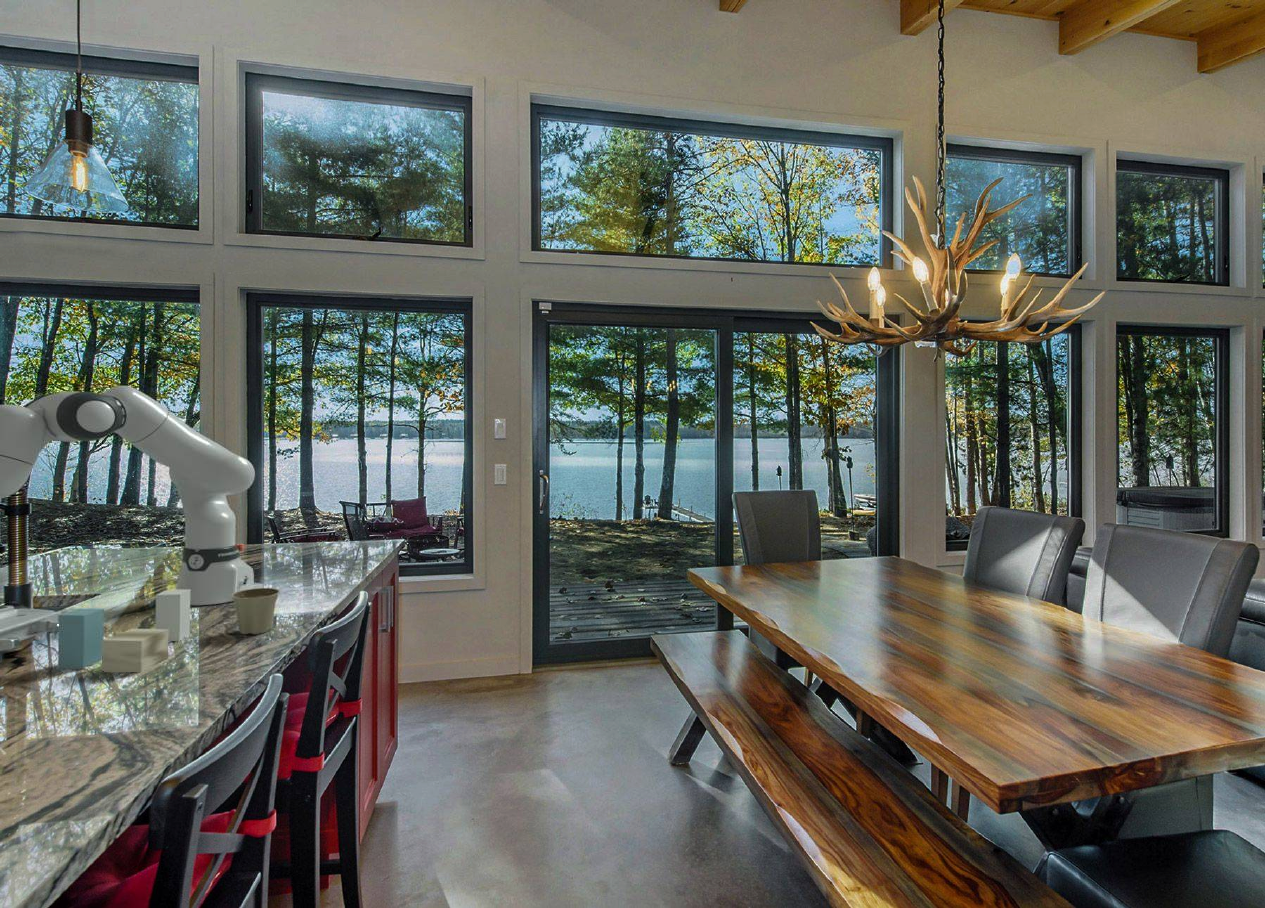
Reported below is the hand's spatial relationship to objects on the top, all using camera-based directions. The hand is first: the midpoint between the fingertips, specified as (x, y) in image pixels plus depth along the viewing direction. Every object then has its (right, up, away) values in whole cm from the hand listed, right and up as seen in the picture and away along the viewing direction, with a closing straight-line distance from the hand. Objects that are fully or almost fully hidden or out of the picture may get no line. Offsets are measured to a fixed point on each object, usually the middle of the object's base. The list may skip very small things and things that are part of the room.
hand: (39, 635), depth 117 cm
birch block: (+17, -6, +1) cm, 18 cm away
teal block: (+8, -6, 0) cm, 9 cm away
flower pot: (+26, -6, +23) cm, 36 cm away
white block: (+13, -5, +17) cm, 22 cm away
